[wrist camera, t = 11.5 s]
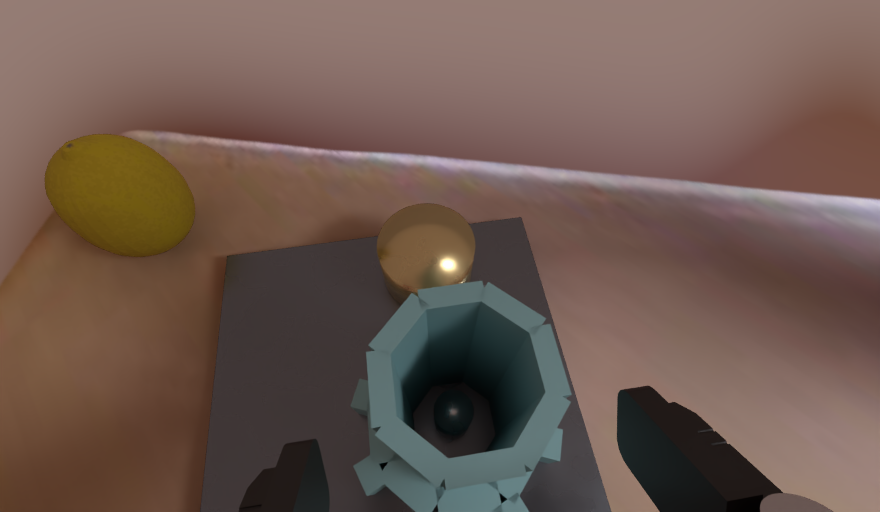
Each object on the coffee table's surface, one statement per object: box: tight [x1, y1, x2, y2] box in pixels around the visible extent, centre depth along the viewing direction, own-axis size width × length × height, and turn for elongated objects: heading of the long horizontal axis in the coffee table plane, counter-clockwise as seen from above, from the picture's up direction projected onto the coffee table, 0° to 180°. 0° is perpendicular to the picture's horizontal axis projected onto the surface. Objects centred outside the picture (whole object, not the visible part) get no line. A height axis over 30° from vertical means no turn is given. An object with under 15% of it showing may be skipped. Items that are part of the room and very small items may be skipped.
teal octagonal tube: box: [350, 281, 572, 512], centre depth 14 cm, size 9×9×10 cm
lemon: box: [45, 134, 195, 257], centre depth 22 cm, size 6×6×8 cm
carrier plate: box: [200, 204, 611, 512], centre depth 18 cm, size 17×19×4 cm
